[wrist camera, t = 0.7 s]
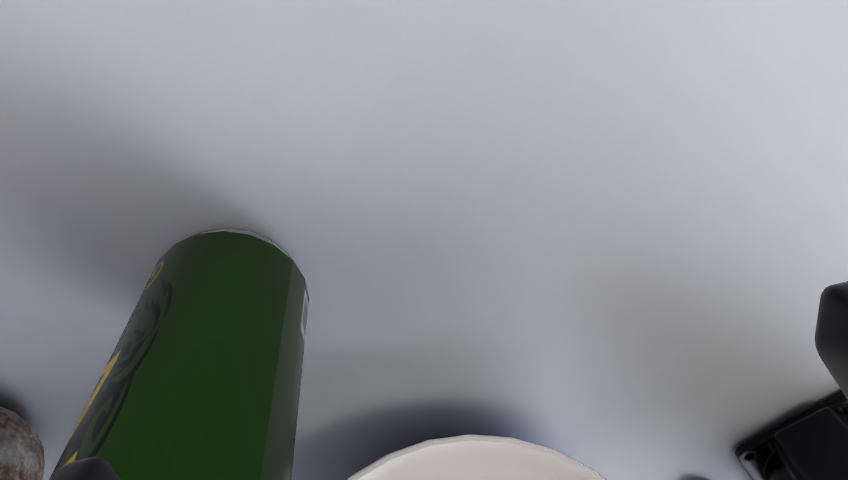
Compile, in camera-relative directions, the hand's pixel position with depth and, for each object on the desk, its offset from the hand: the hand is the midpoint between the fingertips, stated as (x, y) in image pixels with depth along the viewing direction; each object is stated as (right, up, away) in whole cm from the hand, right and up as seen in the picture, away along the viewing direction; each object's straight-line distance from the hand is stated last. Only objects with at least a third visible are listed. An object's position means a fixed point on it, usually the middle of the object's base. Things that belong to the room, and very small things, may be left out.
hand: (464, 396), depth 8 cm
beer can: (-7, 0, +15) cm, 17 cm away
